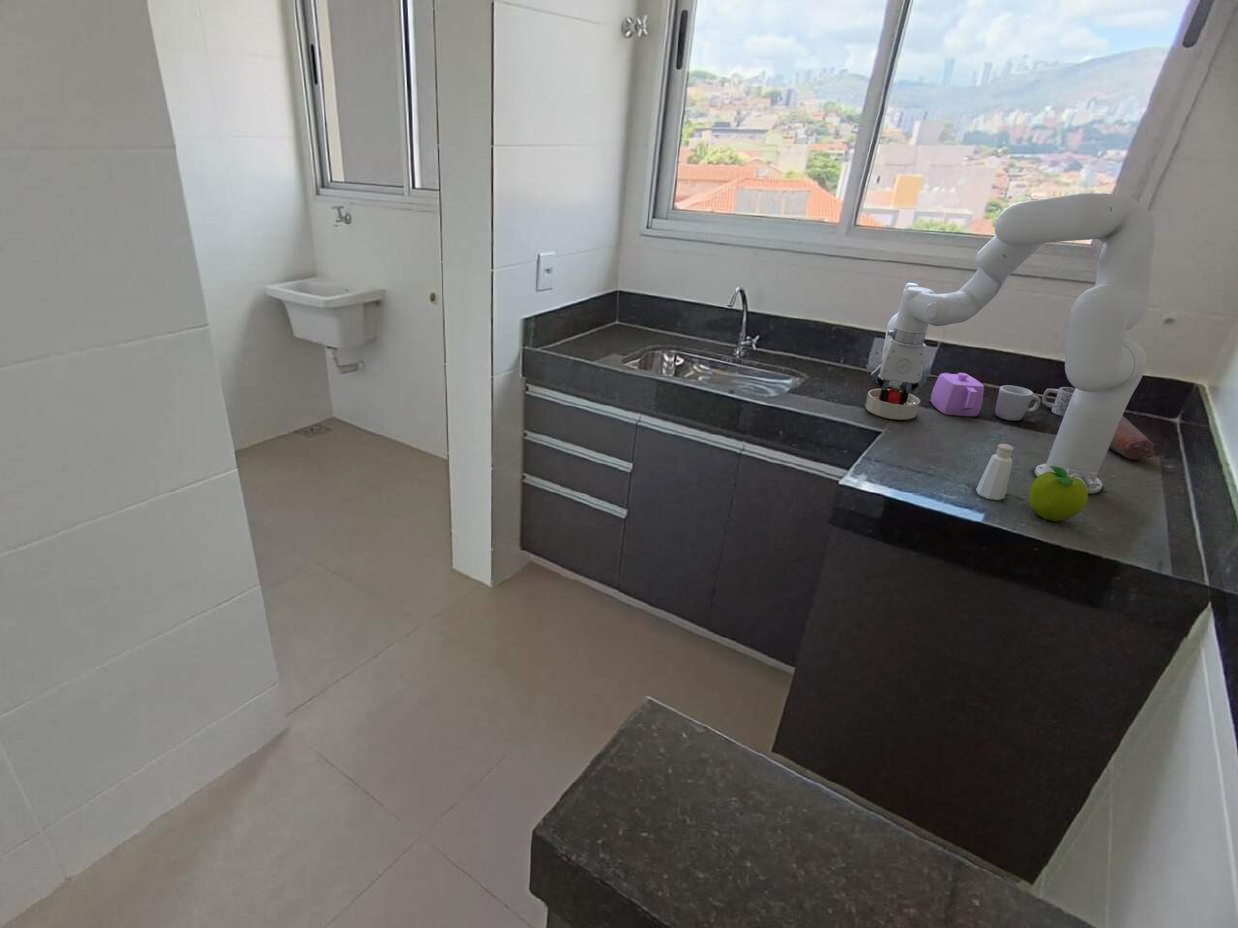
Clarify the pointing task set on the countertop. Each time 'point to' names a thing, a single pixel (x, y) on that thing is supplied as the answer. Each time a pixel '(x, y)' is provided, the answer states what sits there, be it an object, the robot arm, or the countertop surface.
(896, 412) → the bowl
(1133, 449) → the food
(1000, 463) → the pepper shaker
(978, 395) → the teapot
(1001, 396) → the cup
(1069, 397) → the mug
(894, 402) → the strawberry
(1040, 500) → the fruit
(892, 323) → the bottle
